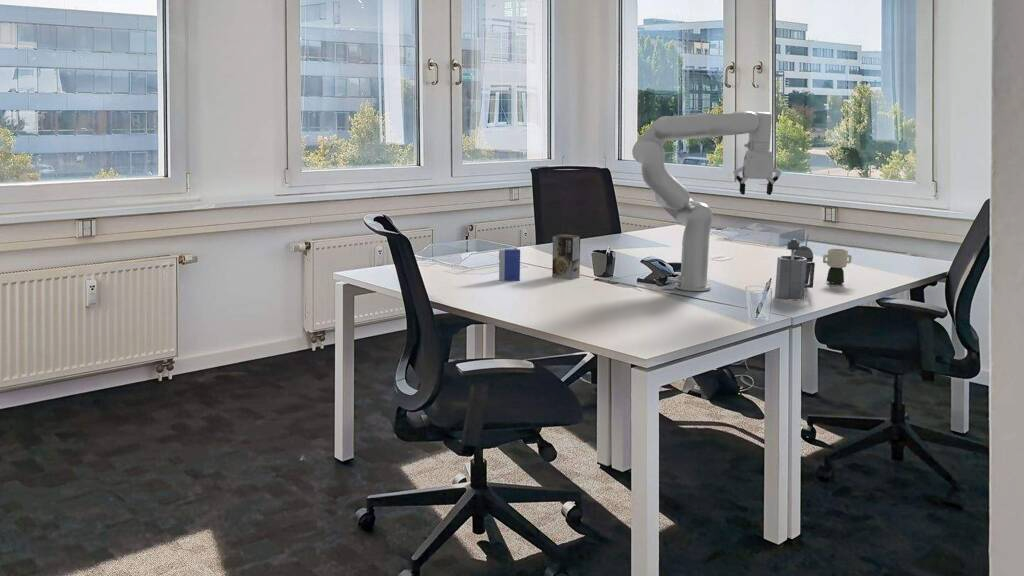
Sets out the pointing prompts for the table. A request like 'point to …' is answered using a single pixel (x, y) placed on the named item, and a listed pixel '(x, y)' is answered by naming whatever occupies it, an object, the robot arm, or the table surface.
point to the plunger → (793, 247)
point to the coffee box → (566, 256)
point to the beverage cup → (807, 254)
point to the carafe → (792, 277)
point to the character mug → (836, 264)
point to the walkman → (509, 264)
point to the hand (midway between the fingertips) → (755, 194)
